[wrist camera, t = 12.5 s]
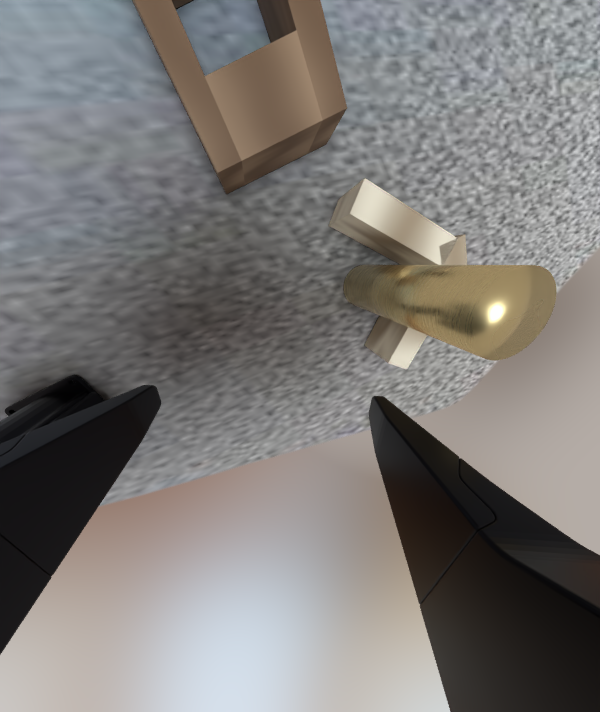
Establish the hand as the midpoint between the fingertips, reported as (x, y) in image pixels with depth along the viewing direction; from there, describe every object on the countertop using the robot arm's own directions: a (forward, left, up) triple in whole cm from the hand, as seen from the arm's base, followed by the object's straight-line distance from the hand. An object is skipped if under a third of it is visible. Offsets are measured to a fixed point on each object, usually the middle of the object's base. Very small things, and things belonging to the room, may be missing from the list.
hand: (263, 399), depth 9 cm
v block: (+12, -1, -12) cm, 17 cm away
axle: (+10, -1, -12) cm, 16 cm away
